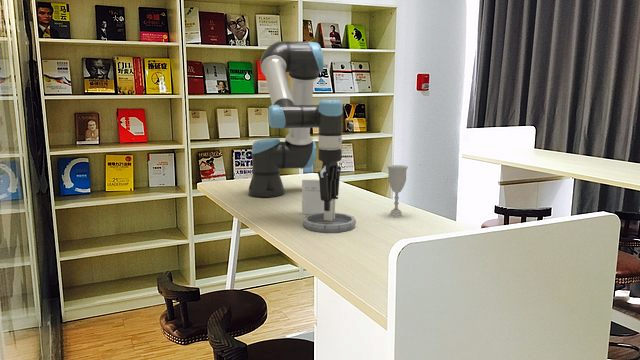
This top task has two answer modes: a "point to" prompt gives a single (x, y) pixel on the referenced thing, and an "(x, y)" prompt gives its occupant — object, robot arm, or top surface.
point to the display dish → (329, 223)
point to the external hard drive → (311, 197)
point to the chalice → (396, 185)
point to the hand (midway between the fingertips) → (329, 219)
